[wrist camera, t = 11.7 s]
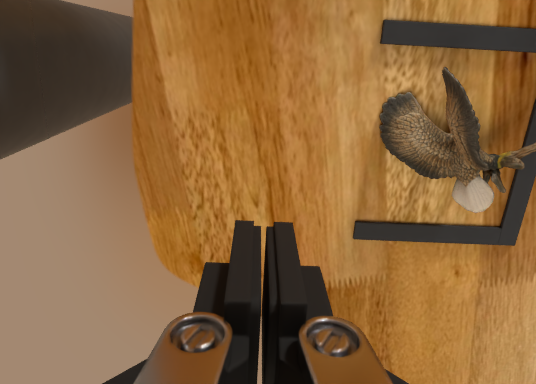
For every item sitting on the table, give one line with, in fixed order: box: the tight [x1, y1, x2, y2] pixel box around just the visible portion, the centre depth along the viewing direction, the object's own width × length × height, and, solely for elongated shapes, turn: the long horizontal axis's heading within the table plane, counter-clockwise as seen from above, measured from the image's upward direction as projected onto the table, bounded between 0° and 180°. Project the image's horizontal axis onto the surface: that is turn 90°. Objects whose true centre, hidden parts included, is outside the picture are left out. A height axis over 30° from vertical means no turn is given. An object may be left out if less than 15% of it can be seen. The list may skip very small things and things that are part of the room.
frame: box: [353, 20, 536, 246], centre depth 30 cm, size 14×16×1 cm
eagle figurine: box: [380, 67, 536, 213], centre depth 27 cm, size 8×7×9 cm
